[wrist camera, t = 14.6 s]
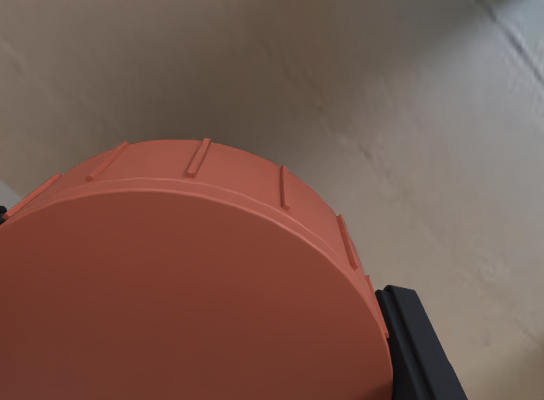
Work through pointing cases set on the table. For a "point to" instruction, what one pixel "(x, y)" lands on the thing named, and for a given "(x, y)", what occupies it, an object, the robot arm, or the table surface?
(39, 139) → the table surface
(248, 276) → the lid
